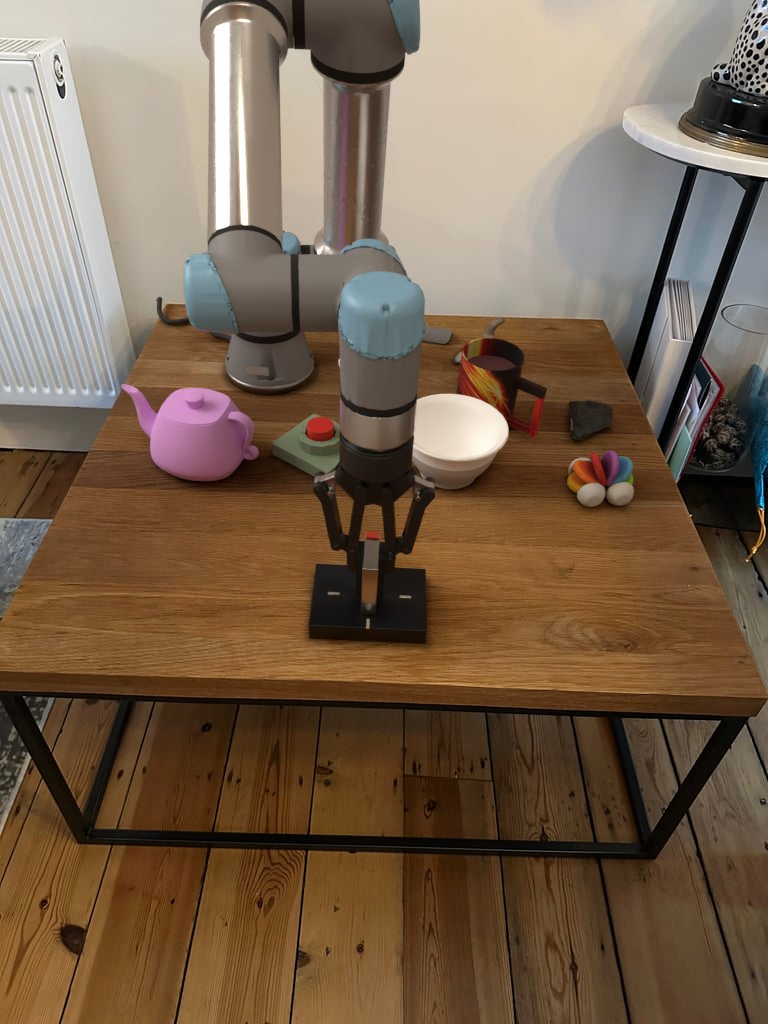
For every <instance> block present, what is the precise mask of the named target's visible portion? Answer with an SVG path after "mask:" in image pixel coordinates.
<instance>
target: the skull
mask: <svg viewBox="0 0 768 1024" xmlns="http://www.w3.org/2000/svg"><path fill="white" fill-rule="evenodd" d="M505 321H506V320H505V318H503V317H498V318H495V319H493V320H491V321H490V322H489V323H488V324H487V325H486V327H485V328H484V332H483V334H482V335H481V337H480V338H495V332H496V329H497V328H498V327H499V326H501V325H503V324H504V323H505ZM461 355H462V351H460V352H459V353H457V355H456V356H455V357H454V359H453V361H454V364H458V363H461Z"/></svg>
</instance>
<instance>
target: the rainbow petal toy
mask: <svg viewBox="0 0 768 1024" xmlns="http://www.w3.org/2000/svg"><path fill="white" fill-rule="evenodd" d="M589 457H590V458H588V457H578V458H575V459H573V461H571V462H570V464H569V466H568V477H567V480H566V485H567V487H568V488H569V489H570V490H571V491H572V492H573V493H576V498H577V500H578V501H579V503H580V504H581V505H583V506H585V507H590V508H592V507H593V508H594V507H597V506H598V505H600V504H602V502H603V501H604V499H606V500H607V501H608V502H609V504H611V505H614V506H617V507H620V506H621V507H622V506H625V505H627V504H629V503H630V502H631V500H633V497H634V494H635V489H634V486H633V485H634V476H633V474H632V472H633V470H634V464H633V461H632V460H631V458H629V457H627V456H619V454H618V452H616V451H615V450H606V451H605V452H604V453H603V455H602V456H601V458H600V457H599V454H598V453H597V451H592V452H590V453H589Z"/></svg>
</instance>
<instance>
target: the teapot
mask: <svg viewBox="0 0 768 1024" xmlns="http://www.w3.org/2000/svg"><path fill="white" fill-rule="evenodd" d="M120 388H121V389H122V390H123V391H124V392H125V393H127V395H129V397H130V398H131V399H132V401H133V404H134V406H135V409H136V415H137V418H138V419H137V420H138V422H139V426H140V428H141V429H142V431H143V432H144V433H145V435H146V436H148V437H149V438H150V440H149V449H150V450H149V451H150V457H151V459H152V461H153V462H154V464H155V465H157V467H159V468H160V469H161V470H162V471H164V472H166V473H168V474H169V475H171V476H174V477H176V478H178V479H182V480H187V481H194V482H214V481H220V480H223V479H226V478H228V477H229V476H231V475H232V474H233V473H234V472H235V471H236V470H237V468H239V466H240V464H241V463H242V462H243V460H244V459H245V460H246V461H247V460H248V461H252V460H255V459H257V457H258V456H259V449H258V447H257V446H255V445H254V444H251V442H252V439H253V436H254V433H255V424H254V421H253V420H252V419H251V417H249V415H247V414H245V413H243V412H241V410H240V408H238V406H237V404H236V403H235V402H234V401H233V400H232V398H231V397H230V396H228V395H227V394H225V393H223V392H220V391H217V390H213V389H210V388H203V387H183V388H180V389H176V390H174V391H173V392H172V393H170V394H169V395H168V397H166V399H165V400H164V401H163V402H162V404H161V406H160V408H159V410H158V413H156V412H155V411H154V409H153V408H152V407H151V405H150V404H149V401H148V400H147V398H146V396H145V395H144V393H143V392H141V390H139V389H138V388H137V387H135V386H133V385H130V384H127V383H126V384H125V383H121V384H120Z"/></svg>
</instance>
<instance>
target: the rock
mask: <svg viewBox="0 0 768 1024" xmlns="http://www.w3.org/2000/svg"><path fill="white" fill-rule="evenodd" d="M567 416H568V423H569V428H570V436H571V439H572V440H575V441H578V440H581V441H583V440H586V439H588V437H591V436H593V435H594V434H596V433H597V432H600V431H603V430H606V429H609V428H612V427H613V419H614V417H613V407H612V406H611V405H608V404H607V403H604V402H600V401H595V400H591V399H586V400H569V402H568V410H567Z"/></svg>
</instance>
